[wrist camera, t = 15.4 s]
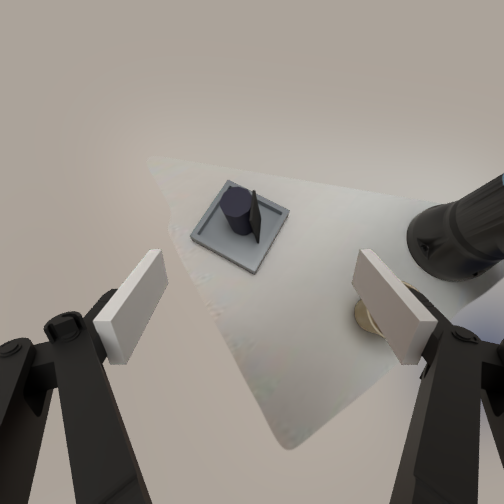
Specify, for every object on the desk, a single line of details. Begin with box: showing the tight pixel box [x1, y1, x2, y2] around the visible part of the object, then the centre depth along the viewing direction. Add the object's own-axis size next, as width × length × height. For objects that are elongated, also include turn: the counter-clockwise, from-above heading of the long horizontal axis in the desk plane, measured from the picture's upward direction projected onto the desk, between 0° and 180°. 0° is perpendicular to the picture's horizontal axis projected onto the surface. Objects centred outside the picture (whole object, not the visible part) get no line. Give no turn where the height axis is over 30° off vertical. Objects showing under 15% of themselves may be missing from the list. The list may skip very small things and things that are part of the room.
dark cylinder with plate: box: [220, 187, 261, 243], centre depth 44 cm, size 8×6×10 cm
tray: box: [190, 180, 290, 275], centre depth 48 cm, size 14×14×2 cm
